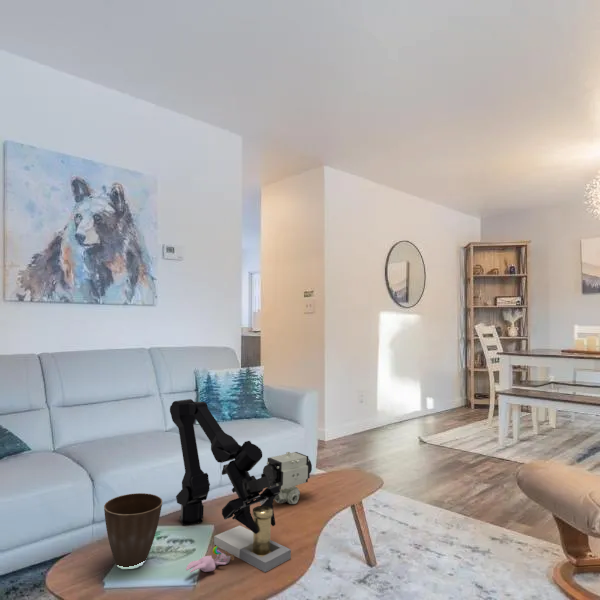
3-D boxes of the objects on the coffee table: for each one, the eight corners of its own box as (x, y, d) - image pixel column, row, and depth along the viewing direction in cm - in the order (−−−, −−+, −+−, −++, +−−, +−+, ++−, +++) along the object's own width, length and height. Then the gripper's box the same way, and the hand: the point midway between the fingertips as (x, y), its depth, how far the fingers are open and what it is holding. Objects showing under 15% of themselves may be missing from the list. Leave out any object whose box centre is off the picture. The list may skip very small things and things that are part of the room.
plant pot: (121, 546, 136) (123, 490, 137) (169, 552, 134) (171, 495, 134) (89, 574, 122) (92, 511, 122) (143, 581, 119) (145, 517, 120)
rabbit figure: (221, 560, 133) (178, 573, 121) (224, 538, 134) (182, 549, 122) (236, 568, 129) (194, 582, 118) (240, 545, 130) (198, 557, 119)
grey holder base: (213, 544, 139) (214, 535, 139) (239, 533, 147) (239, 525, 147) (265, 572, 125) (265, 562, 125) (290, 558, 133) (290, 549, 133)
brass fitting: (251, 561, 130) (252, 513, 131) (251, 551, 136) (252, 505, 136) (271, 561, 131) (272, 513, 131) (271, 551, 136) (272, 505, 137)
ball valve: (275, 511, 164) (277, 459, 165) (261, 503, 171) (262, 454, 171) (313, 499, 176) (315, 451, 176) (299, 492, 182) (300, 446, 183)
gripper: (230, 471, 130) (256, 525, 122) (277, 457, 144) (303, 505, 136) (210, 493, 135) (235, 545, 127) (258, 477, 149) (282, 524, 141)
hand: (265, 529), depth 133 cm, fingers open, 6 cm apart
